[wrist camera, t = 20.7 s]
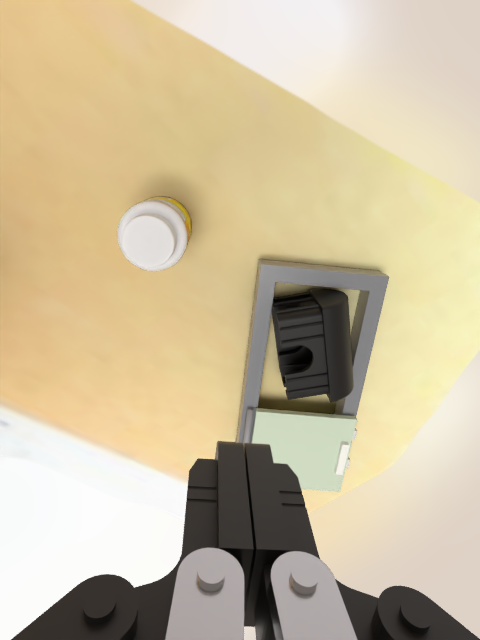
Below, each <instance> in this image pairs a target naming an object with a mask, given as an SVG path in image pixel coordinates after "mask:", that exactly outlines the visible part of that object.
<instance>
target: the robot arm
mask: <svg viewBox="0 0 480 640" xmlns="http://www.w3.org/2000/svg"><path fill="white" fill-rule="evenodd" d="M244 626H252V627H254V626H255V629H256V640H480V639H479V638H477V637H476V636H475V635H474V634H473V633H471V632H470V631H469V630H468V629H466V628H465V627H464V626H463V625H462V624H460V623H459V622H458V621H457V620H455V619H454V618H453V617H452V616H450V615H449V614H448V613H447V612H445V611H444V610H443V609H442V608H441V607H439V606H438V605H437V604H436V603H434V602H433V601H432V600H431V599H429V598H428V597H427V596H425V595H424V594H422V593H420V592H419V591H417V590H414V589H412V588H409V587H405V586H392V587H389V588H387V589H385V590H384V591H383V592H382V593H381V595H380V597H379V598H376V597H373V596H371V595H368V594H365V593H362V592H359V591H356V590H354V589H351V588H349V587H347V586H345V585H343V584H341V583H340V582H339V581H337V580H336V579H335V578H334V576H333V573H332V572H331V570H330V569H329V568H328V566H327V565H326V564H325V563H324V562H322V561H321V560H320V558H319V555H318V551H317V547H316V544H315V540H314V536H313V533H312V529H311V525H310V521H309V517H308V513H307V510H306V508H305V502H304V498H303V495H302V491H301V487H300V483H299V480H298V477H297V475H296V474H295V473H294V472H293V470H292V469H291V468H290V467H289V465H288V464H281V463H274V462H273V457H272V452H271V447H270V445H269V444H256V443H244V445H243V443H239V442H223V441H218V442H217V447H216V456H215V460H213V459H197V461H196V462H195V464H194V465H193V466H192V468H191V469H190V471H189V480H188V491H187V502H186V513H185V524H184V535H183V547H182V555H181V557H180V560H179V562H178V564H177V565H176V567H175V568H174V569H173V570H172V571H171V572H170V573H169V574H168V575H166V576H165V577H164V578H162V579H160V580H158V581H155V582H153V583H150V584H146V585H143V586H139V587H136V588H134V587H133V586H132V585H131V584H130V582H128V581H127V580H126V579H124V578H122V577H120V576H116V575H109V574H106V575H99V576H94V577H92V578H89V579H87V580H85V581H83V582H82V583H80V584H79V585H77V586H76V587H75V588H74V589H72V590H71V591H70V592H69V593H67V594H66V595H65V596H64V597H63V598H61V599H60V600H59V601H58V602H57V603H55V604H54V605H53V606H52V607H50V608H49V609H48V610H47V611H46V612H44V614H42V615H41V616H39V617H38V618H37V619H36V620H35V621H33V622H32V623H31V624H30V625H28V626H27V627H26V628H25V629H24V630H22V631H21V632H20V633H19V634H17V635H16V636H15V637H14V638H13V639H11V640H244Z"/></svg>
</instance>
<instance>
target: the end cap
mask: <svg viewBox="0 0 480 640" xmlns="http://www.w3.org/2000/svg"><path fill="white" fill-rule="evenodd" d="M272 316H273V323H274V331H275V338H276V346H277V353H278V360H279V368H280V372H281V376H282V381H283V385H284V387H286V388H287V390H286V395H287V398H288V400H291V399H297V398H303V397H309V396H316V395H322V394H327V396H328V398H329V400H330V402H334V401H338V400H341V399H343V398H345V397H347V396H348V395H349V394H350V393H351V392H352V390H353V388H354V382H353V367H352V352H351V337H350V321H349V306H348V297H347V295H346V294H345V293H344V292H342V291H339V290H334V289H313V290H309V292H307V293H300V294H294V295H288V296H282V297H276V298H273V303H272Z"/></svg>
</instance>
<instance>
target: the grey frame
mask: <svg viewBox="0 0 480 640" xmlns="http://www.w3.org/2000/svg"><path fill="white" fill-rule="evenodd" d="M388 279H389V276H387V275H385V274H384V273H382V272H381V271H375V270H365V269H355V268H345V267H335V266H325V265H315V264H305V263H294V262H284V261H274V260H264V259H259V262H258V270H257V278H256V286H255V294H254V302H253V310H252V318H251V326H250V334H249V342H248V350H247V357H246V365H245V373H244V381H243V389H242V397H241V405H240V413H239V421H238V429H237V437H236V442H239V443H243V439H244V431H245V424H246V416H247V409H248V408H253V409H254V413H253V420H252V427H251V434H250V441H249V443H251V440H252V433H253V426H254V419H255V412H256V408H258V401H259V394H260V387H261V380H262V373H263V366H264V359H265V352H266V345H267V338H268V331H269V324H270V317H271V310H272V303H273V296H274V289H275V282H280V283H291V284H301V285H312V286H322V287H333V288H344V289H354V290H360V295H359V299H358V304H357V309H356V313H355V318H354V323H353V327H352V332H351V336H350V337H351V352H352V367H353V382H354V388H353V390H352V392H351V393H350V394H349V395H348V396H347V397H345V398H343V399H341V400H338V401H337V402H336V406H335V411H334V414H335V415H347V416H355V417H356V415H357V410H358V406H359V402H360V398H361V393H362V389H363V385H364V381H365V377H366V372H367V368H368V364H369V360H370V355H371V351H372V347H373V343H374V339H375V334H376V330H377V326H378V322H379V317H380V313H381V309H382V305H383V300H384V296H385V292H386V288H387V284H388ZM356 433H357V430H356V428H355V431H354V435H353V439H352V440H355V437H356ZM349 462H350V459H349V456H348V460H347V464H346V468H348V466H349Z"/></svg>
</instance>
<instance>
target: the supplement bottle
mask: <svg viewBox="0 0 480 640" xmlns="http://www.w3.org/2000/svg"><path fill="white" fill-rule="evenodd" d="M191 229H192V224H191V219H190V216H189V214H188V212H187V210H186V209H185V207H184V206H183V205H182V204H181V203H179V202H178V201H176V200H175V199H172V198H170V197H165V196H157V197H153V198H150V199H147V200H145V201H143V202H140V203H138V204H136V205H134V206H132V207H131V208H130V209H128V210H127V211H126V213H125V214H124V215H123V217H122V218H121V220H120V223H119V226H118V232H117V237H118V243H119V246H120V249H121V251H122V253H123V254H124V256H125V257H126V258H127V259H128V260H129V261H130V262H131V263H132V264H133V265H135V266H137V267H139V268H141V269H144V270H148V271H161V270H165V269H167V268H169V267H171V266H173V265H174V264H175V263H177V262H178V261H179V259H180V258H181V257H182V255H183V254H184V252H185V249H186V246H187V244H188V241H189V238H190V235H191Z"/></svg>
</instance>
